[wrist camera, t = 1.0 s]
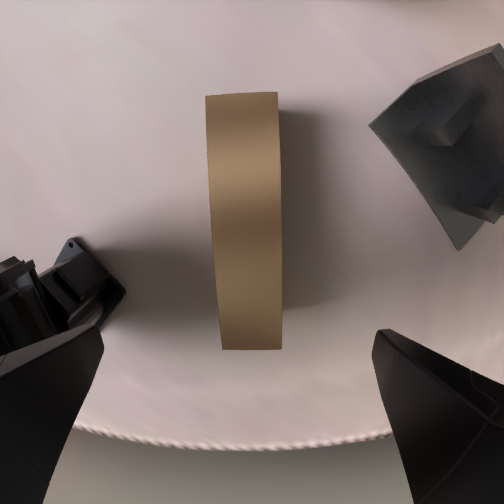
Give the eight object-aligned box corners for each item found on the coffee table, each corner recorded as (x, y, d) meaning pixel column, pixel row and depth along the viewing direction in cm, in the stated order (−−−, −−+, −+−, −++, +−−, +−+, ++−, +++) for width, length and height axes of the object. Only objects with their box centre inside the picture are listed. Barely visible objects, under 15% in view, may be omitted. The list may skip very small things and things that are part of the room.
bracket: (456, 249, 19) (534, 297, 10) (368, 125, 17) (445, 101, 8) (496, 201, 18) (576, 227, 9) (418, 78, 16) (499, 42, 7)
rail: (278, 310, 21) (281, 349, 17) (231, 310, 22) (222, 349, 17) (274, 110, 17) (277, 91, 13) (220, 112, 18) (205, 96, 13)
